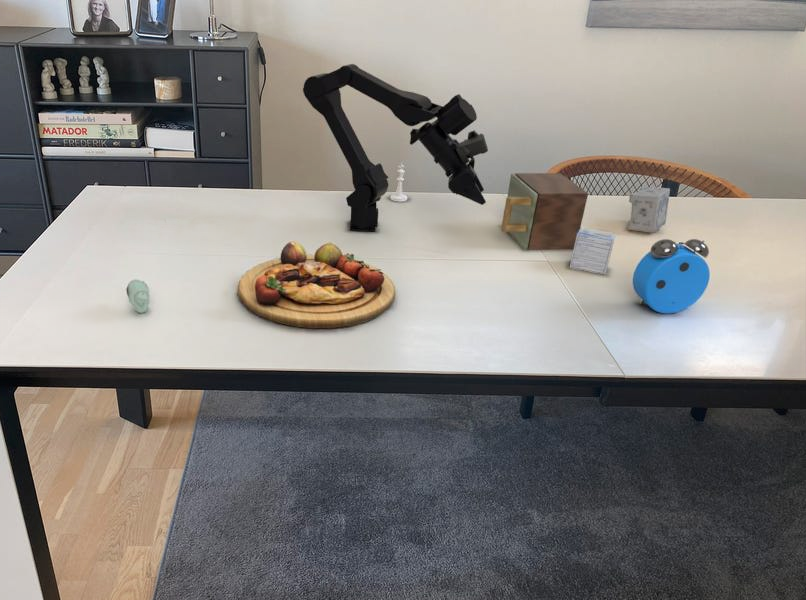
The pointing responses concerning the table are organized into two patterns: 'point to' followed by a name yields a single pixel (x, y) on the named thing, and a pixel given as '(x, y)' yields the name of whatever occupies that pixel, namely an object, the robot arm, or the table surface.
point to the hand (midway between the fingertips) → (483, 197)
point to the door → (519, 211)
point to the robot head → (138, 295)
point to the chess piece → (399, 187)
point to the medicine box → (592, 250)
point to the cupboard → (555, 211)
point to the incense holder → (648, 209)
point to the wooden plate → (316, 288)
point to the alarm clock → (672, 275)
